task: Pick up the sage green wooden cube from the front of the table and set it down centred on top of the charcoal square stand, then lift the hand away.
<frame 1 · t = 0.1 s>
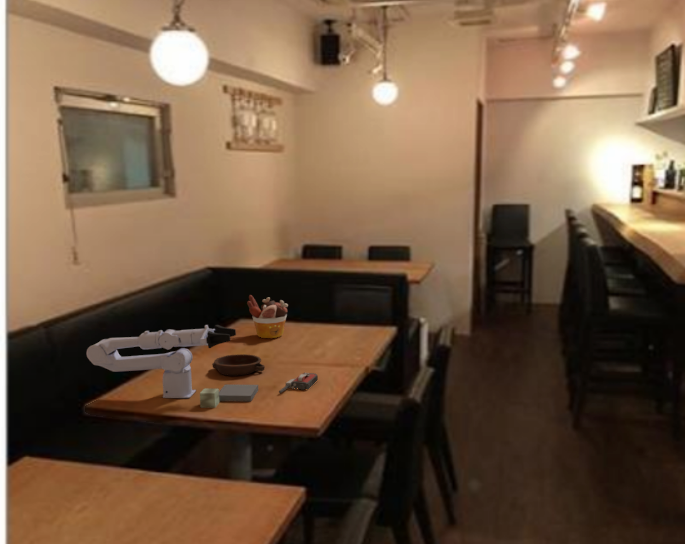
hand: (232, 334, 229), 22 cm above the table, tool horizontal, fingers open, 7 cm apart
dish: (238, 372, 261), on the table
cube: (210, 405, 223), on the table
bucket of meat: (269, 336, 318), on the table
walkie-talkie: (299, 388, 240), on the table
stand: (237, 395, 232), on the table
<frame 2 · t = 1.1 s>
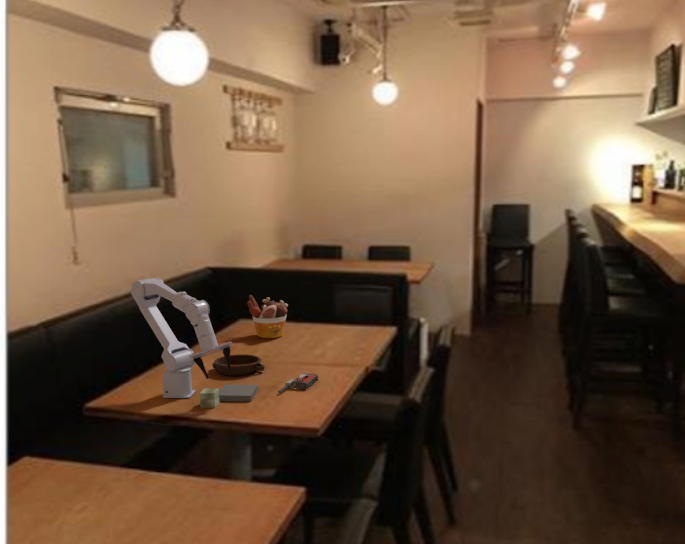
hand: (218, 374, 222), 10 cm above the table, tool tilted 20°, fingers open, 7 cm apart
nothing on the table moved.
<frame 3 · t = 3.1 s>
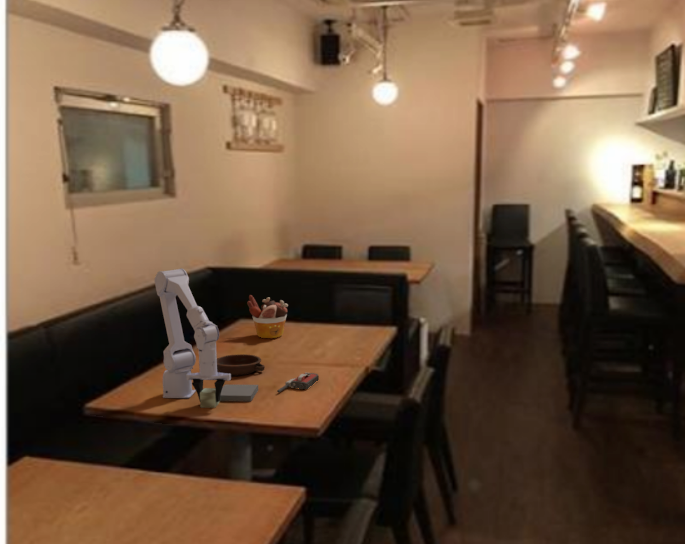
hand: (209, 400, 223), 1 cm above the table, tool pointing down, fingers closed on cube, 5 cm apart
cube: (210, 405, 223), on the table, touching gripper
everything else where it was.
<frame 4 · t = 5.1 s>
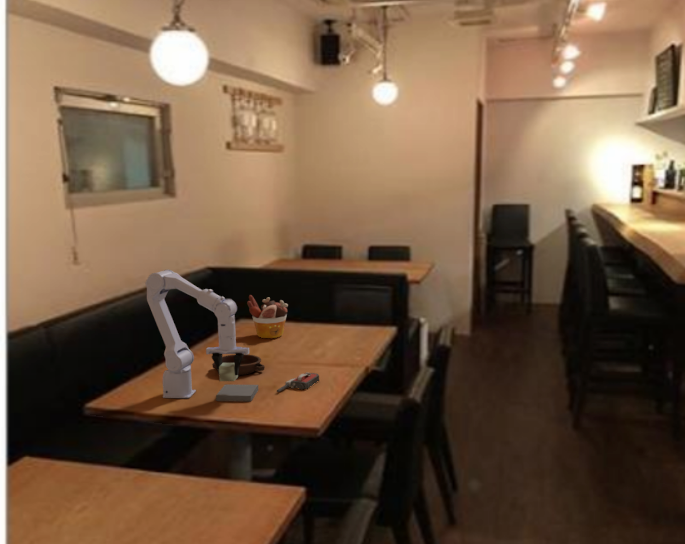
hand: (228, 374, 228), 8 cm above the table, tool pointing down, fingers closed on cube, 5 cm apart
cube: (228, 379, 228), point 7 cm above the table, touching gripper
everything else where it was.
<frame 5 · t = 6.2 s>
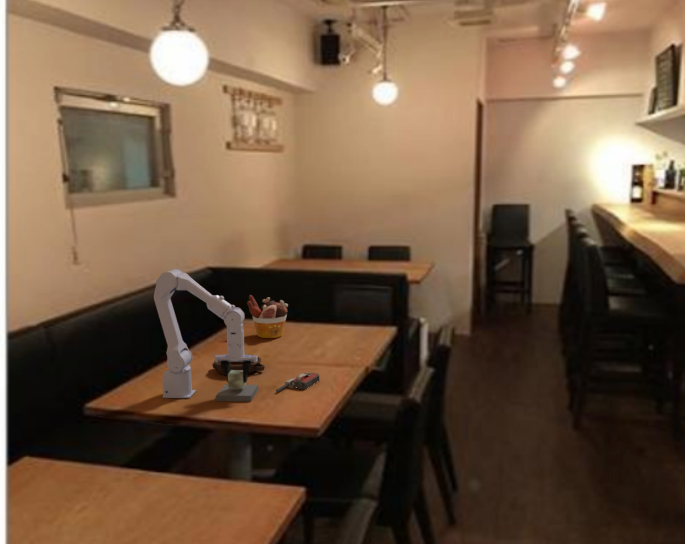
hand: (237, 381, 231), 5 cm above the table, tool pointing down, fingers closed on cube, 5 cm apart
cube: (237, 386, 231), point 3 cm above the table, touching gripper
when the fingers open (5 cm above the table, at t = 6.9 s): cube drops 1 cm, resting on stand.
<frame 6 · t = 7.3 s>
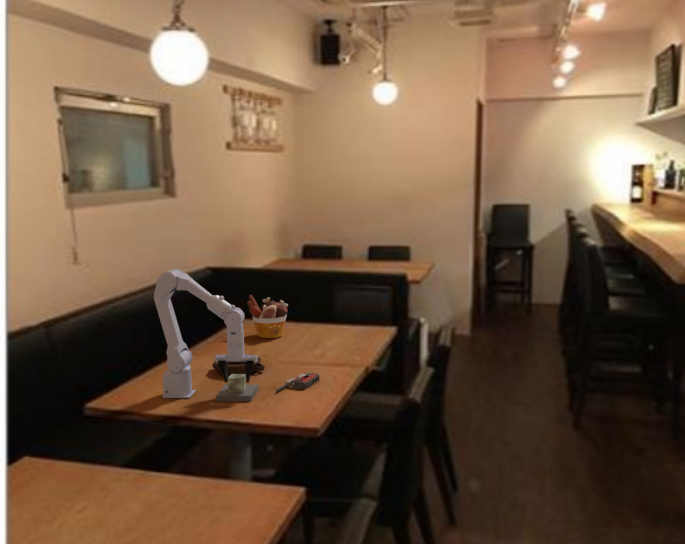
hand: (237, 381, 231), 5 cm above the table, tool pointing down, fingers open, 7 cm apart
cube: (237, 390, 232), point 2 cm above the table, touching stand
everything else where it was.
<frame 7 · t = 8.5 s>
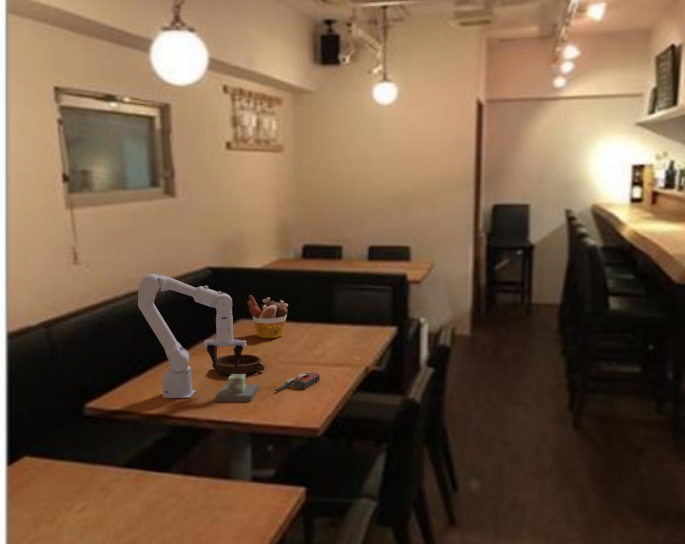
hand: (226, 366, 235), 9 cm above the table, tool pointing down, fingers open, 7 cm apart
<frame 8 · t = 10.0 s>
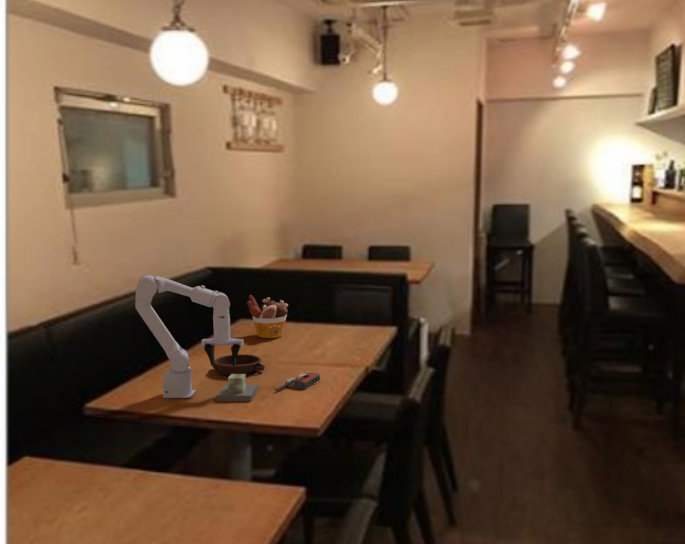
hand: (223, 365, 236), 9 cm above the table, tool pointing down, fingers open, 7 cm apart
at the end: cube 0.1 cm off-centre on the stand, point 2.0 cm above the stand's base; cube tilted 0°; the gripper is holding nothing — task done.
